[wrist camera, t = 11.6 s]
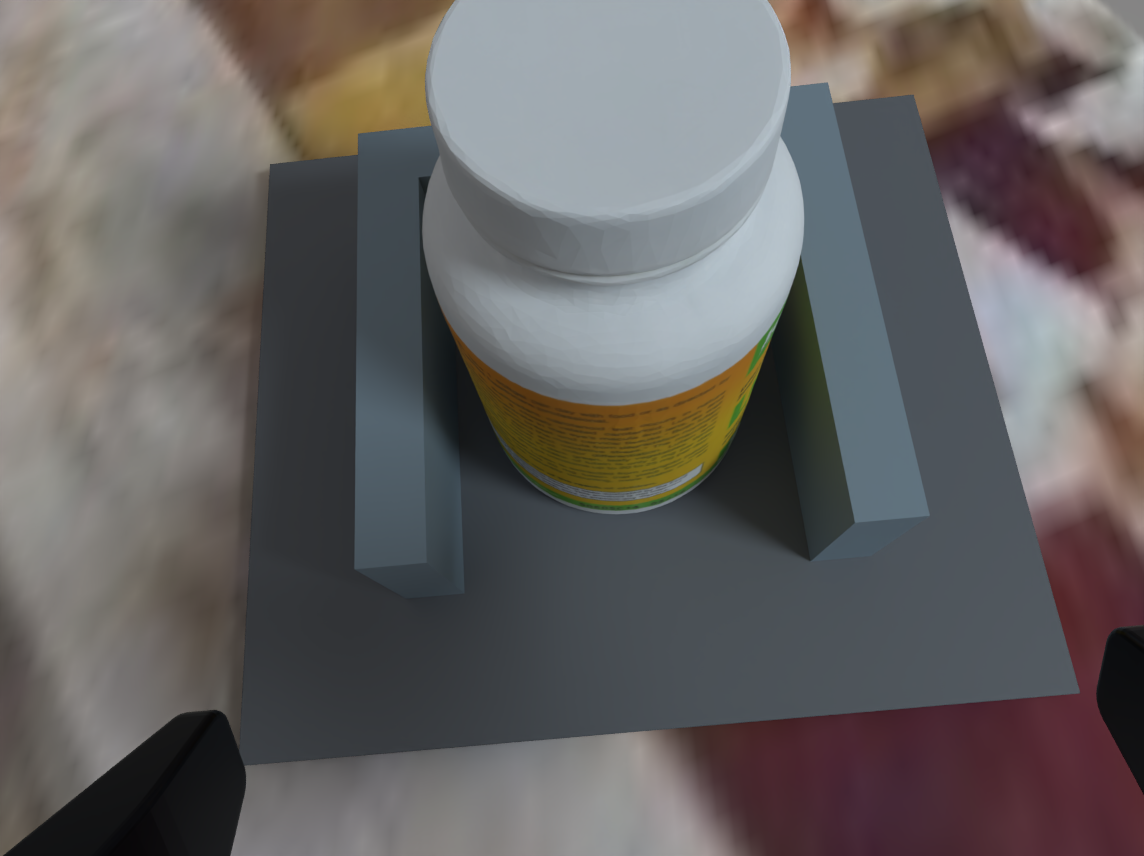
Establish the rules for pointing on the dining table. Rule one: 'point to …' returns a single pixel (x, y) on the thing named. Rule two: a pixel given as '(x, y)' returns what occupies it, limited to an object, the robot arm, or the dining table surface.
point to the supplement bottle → (612, 230)
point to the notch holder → (645, 539)
